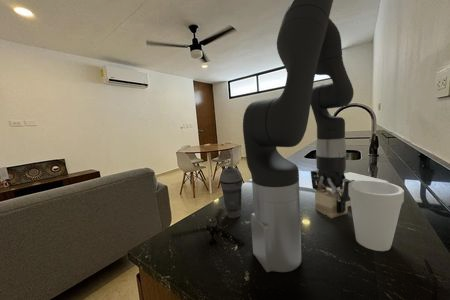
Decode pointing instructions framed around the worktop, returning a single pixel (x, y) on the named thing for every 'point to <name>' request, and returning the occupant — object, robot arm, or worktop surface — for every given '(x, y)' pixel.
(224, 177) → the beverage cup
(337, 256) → the worktop surface
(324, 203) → the maple block
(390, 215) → the foam cup
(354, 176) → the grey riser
